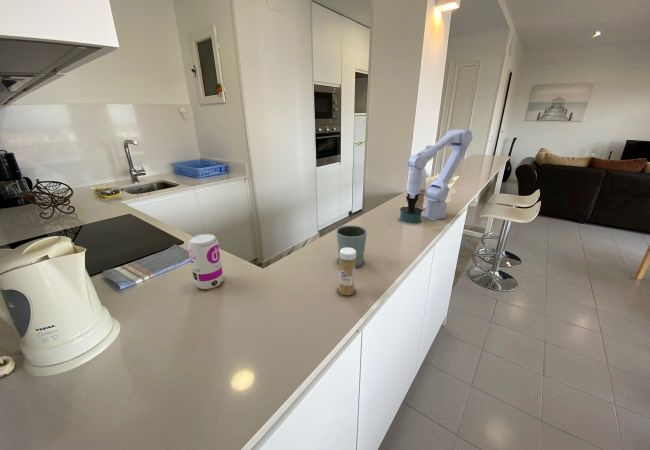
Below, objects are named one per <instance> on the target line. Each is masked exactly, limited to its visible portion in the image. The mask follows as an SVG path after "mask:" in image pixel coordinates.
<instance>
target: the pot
mask: <svg viewBox="0 0 650 450" xmlns="http://www.w3.org/2000/svg"><path fill="white" fill-rule="evenodd" d="M399 211H400V213H399V221H401V222H403V223H406V224H418V223H420V222H421V219H422V213H419V214H409V213H404V212H402V211H401V210H399Z"/></svg>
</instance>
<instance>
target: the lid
mask: <svg viewBox="0 0 650 450" xmlns="http://www.w3.org/2000/svg"><path fill="white" fill-rule="evenodd" d="M399 211H402V212H404V213H409V214H419V213H421V214H422V213H423V209H420V208H417V207H414V210H413V211H409V210H408V206H405V205H404V206H402V207H400V208H399Z"/></svg>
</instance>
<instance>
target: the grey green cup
mask: <svg viewBox="0 0 650 450" xmlns="http://www.w3.org/2000/svg"><path fill="white" fill-rule="evenodd" d="M367 234H368V231H367V229H365V228H364V227H362V226H359V225H342V226H340V227H338V228H337V229H336V241H337V252H338V262H339V264H340V250H341V249H342V248H347V247H348V248H353V249H355V250H356V259H355V268H359V267H361V266H362V265H363V264H364V258H365V250H366V240H367V236H368V235H367Z"/></svg>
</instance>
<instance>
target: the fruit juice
mask: <svg viewBox="0 0 650 450" xmlns="http://www.w3.org/2000/svg"><path fill="white" fill-rule="evenodd" d="M427 177H428V173H427V171H426V167H424V168H423V170H422V178H421V186H420V193H419V196H418V198H419V199H418V200H417V202H416V204H415V207H417V208H420V209H422V210H423V208H424V201H425V191H426V188H427V184H426V179H427ZM407 189H408V185H407V187H406V190H407ZM406 196H408V194H407V193H406V195H405V197H406ZM405 206H408V201H407V199H406V198H405V203H404V207H405Z"/></svg>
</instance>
